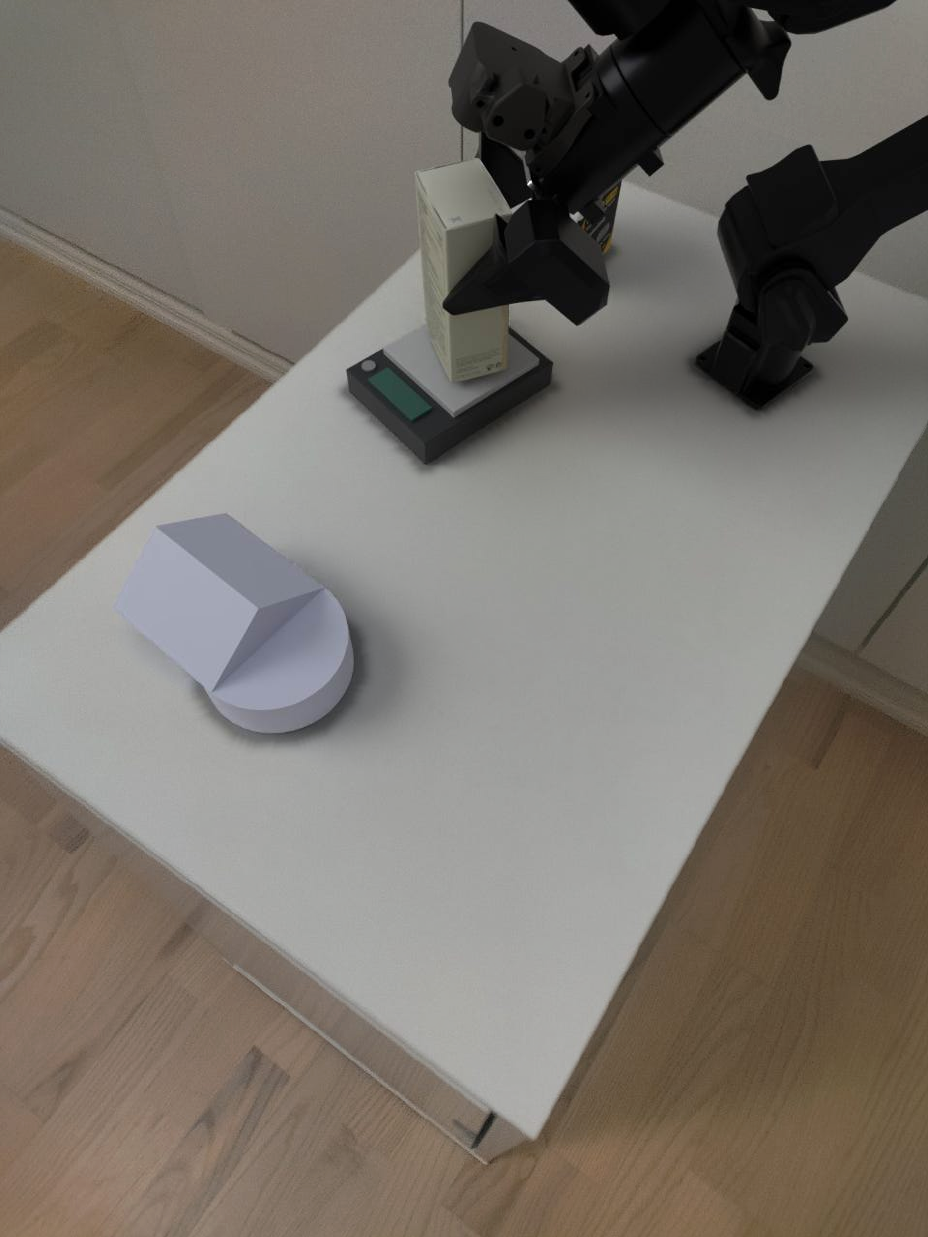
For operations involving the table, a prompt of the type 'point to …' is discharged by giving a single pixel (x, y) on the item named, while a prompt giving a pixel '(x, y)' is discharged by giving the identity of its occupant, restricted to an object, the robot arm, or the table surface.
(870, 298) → the table surface
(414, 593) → the table surface
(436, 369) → the kitchen scale
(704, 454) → the table surface
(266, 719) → the wedge on round base
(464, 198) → the cosmetic box
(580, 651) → the table surface
